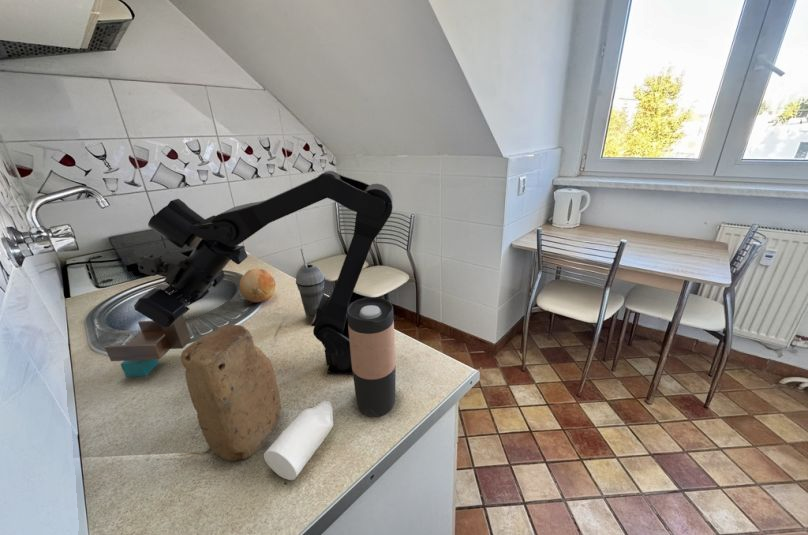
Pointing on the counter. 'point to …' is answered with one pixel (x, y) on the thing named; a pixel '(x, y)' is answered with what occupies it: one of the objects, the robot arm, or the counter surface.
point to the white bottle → (300, 441)
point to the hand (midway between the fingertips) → (164, 316)
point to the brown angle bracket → (152, 340)
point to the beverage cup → (310, 288)
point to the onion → (257, 285)
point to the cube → (138, 367)
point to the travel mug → (372, 354)
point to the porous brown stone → (232, 391)
